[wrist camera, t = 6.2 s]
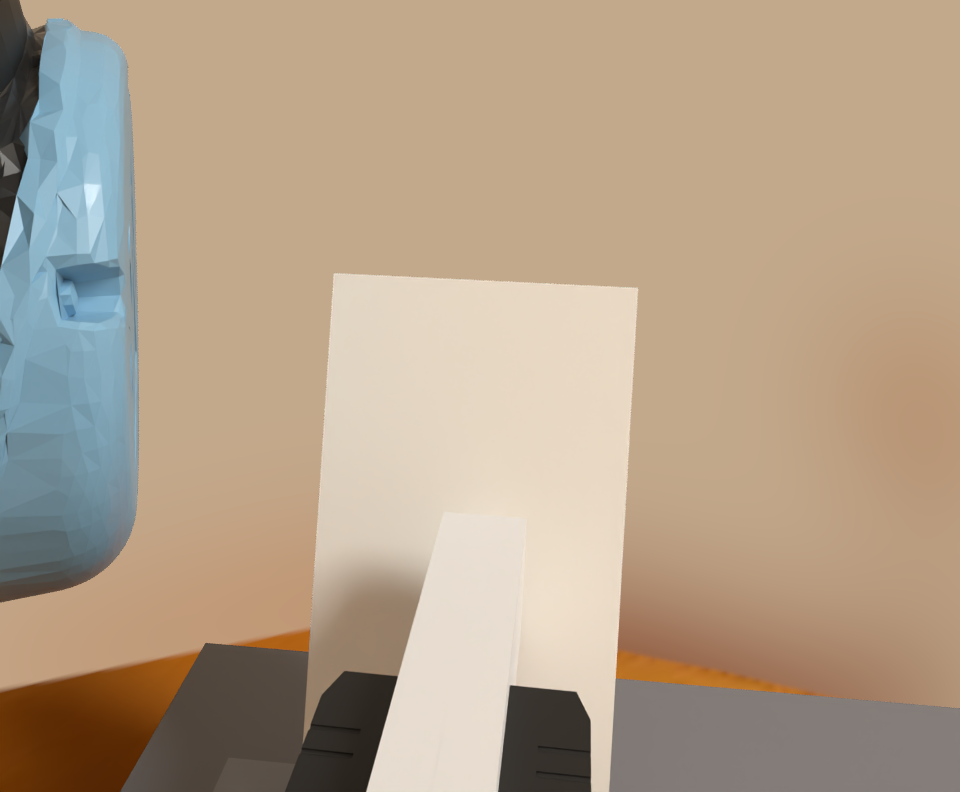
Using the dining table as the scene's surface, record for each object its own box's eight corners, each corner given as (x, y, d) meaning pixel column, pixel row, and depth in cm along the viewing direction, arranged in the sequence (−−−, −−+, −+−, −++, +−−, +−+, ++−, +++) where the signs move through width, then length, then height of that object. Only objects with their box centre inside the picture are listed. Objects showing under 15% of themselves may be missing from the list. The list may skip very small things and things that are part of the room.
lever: (602, 916, 16) (638, 287, 16) (293, 882, 16) (333, 273, 17) (596, 860, 18) (628, 302, 18) (321, 831, 18) (356, 288, 19)
